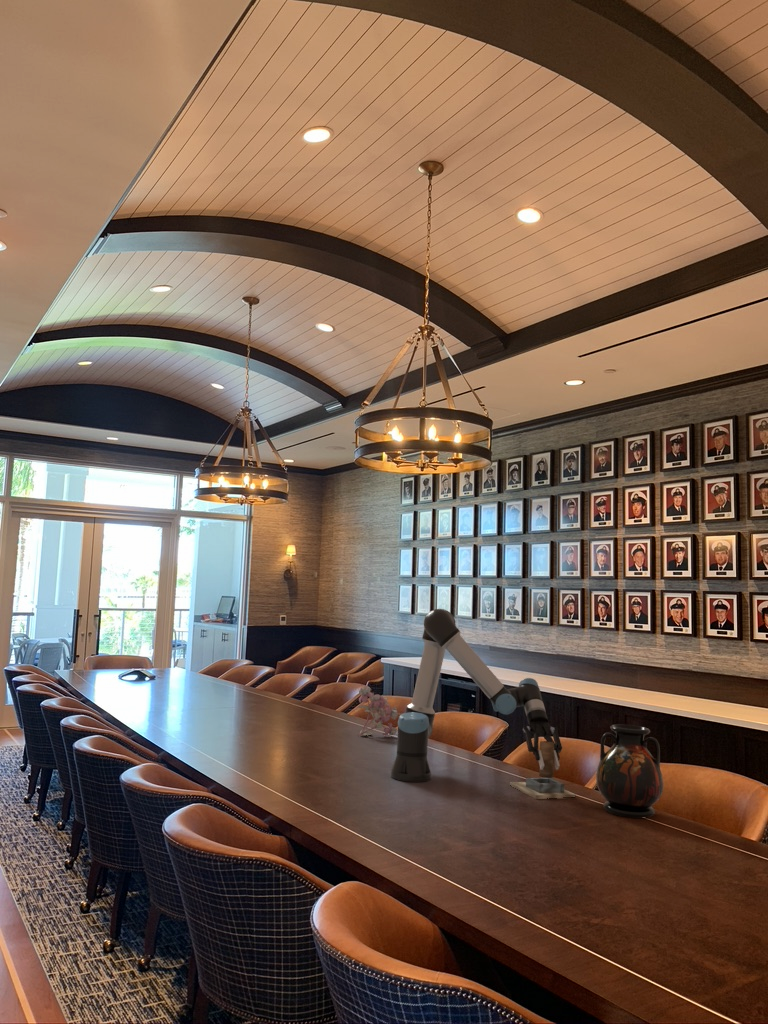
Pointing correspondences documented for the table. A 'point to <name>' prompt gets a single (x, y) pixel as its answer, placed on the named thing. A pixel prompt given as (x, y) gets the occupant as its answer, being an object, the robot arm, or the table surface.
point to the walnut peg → (547, 759)
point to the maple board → (542, 788)
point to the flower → (379, 706)
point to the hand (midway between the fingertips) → (550, 767)
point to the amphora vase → (629, 773)
